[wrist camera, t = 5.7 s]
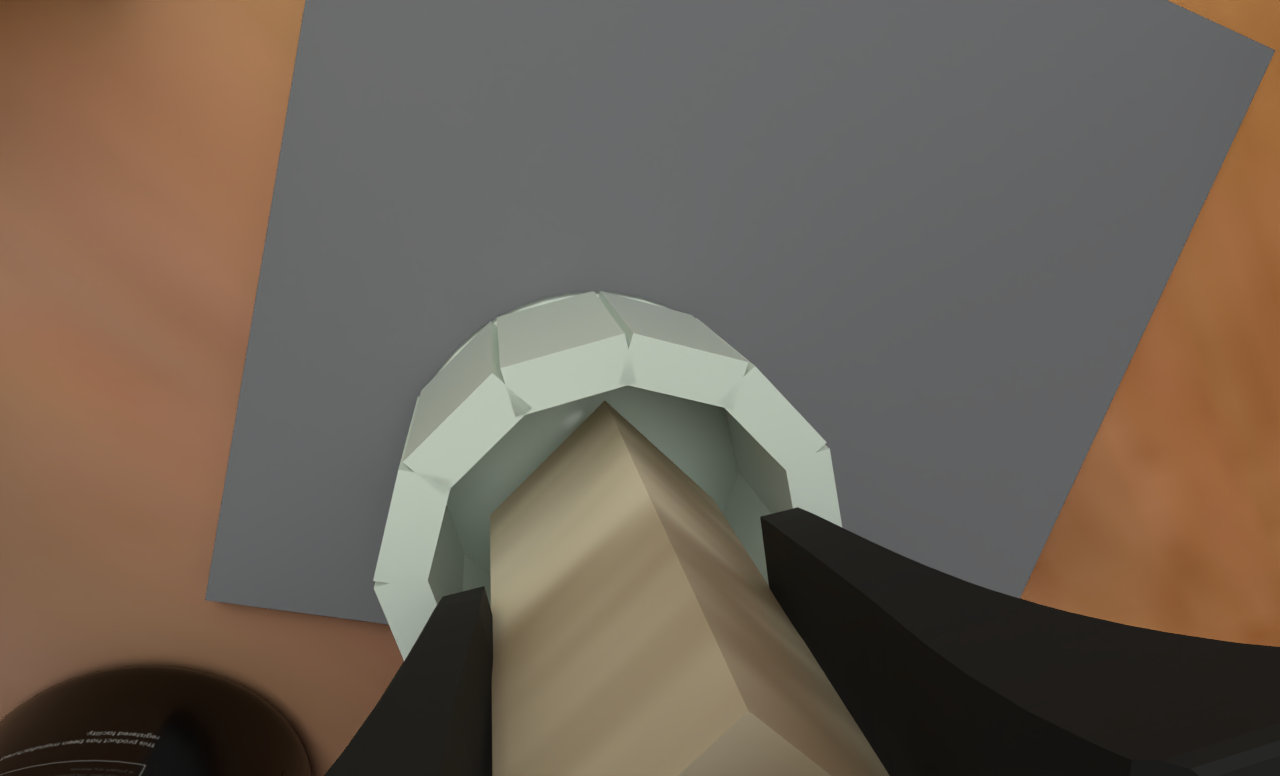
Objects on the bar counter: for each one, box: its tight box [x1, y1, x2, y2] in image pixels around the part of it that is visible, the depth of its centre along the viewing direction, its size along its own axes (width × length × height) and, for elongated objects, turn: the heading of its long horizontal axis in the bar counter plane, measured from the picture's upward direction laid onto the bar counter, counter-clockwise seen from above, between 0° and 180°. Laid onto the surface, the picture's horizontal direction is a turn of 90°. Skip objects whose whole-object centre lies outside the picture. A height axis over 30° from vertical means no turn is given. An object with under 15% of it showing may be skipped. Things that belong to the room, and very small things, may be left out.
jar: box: [373, 291, 842, 661], centre depth 14 cm, size 8×8×4 cm
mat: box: [205, 0, 1275, 624], centre depth 16 cm, size 19×17×1 cm
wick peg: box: [490, 401, 890, 776], centre depth 10 cm, size 3×3×9 cm
